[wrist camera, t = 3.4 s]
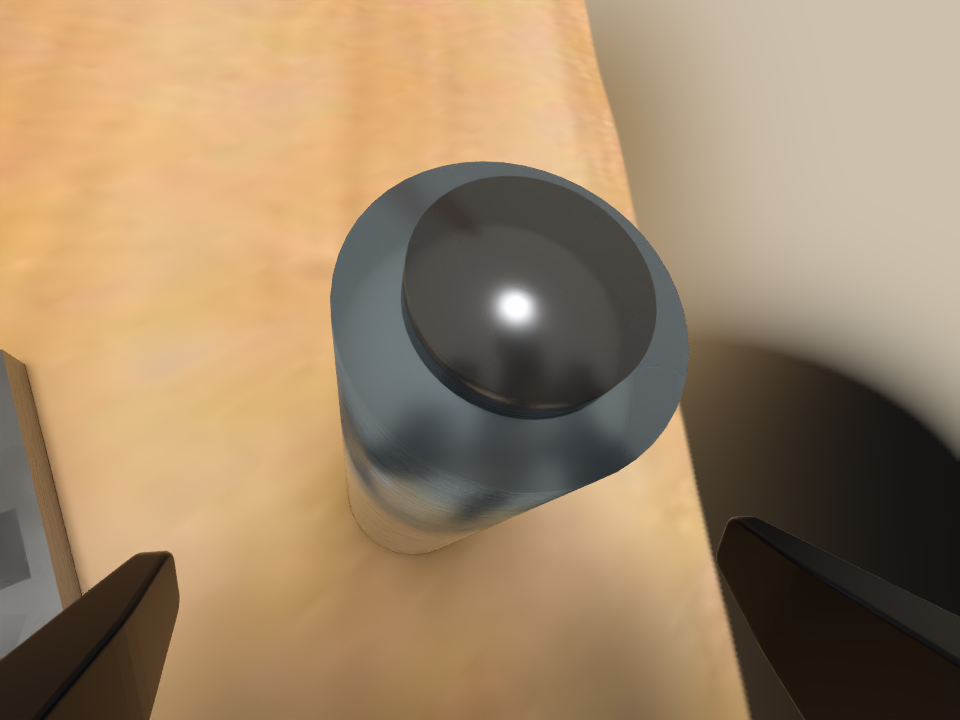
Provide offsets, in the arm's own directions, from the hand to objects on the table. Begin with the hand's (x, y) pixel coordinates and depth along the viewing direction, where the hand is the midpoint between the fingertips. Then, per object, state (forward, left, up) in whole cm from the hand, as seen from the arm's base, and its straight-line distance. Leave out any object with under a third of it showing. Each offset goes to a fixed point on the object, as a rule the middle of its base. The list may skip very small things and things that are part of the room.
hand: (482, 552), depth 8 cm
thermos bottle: (+3, -1, -10) cm, 10 cm away
